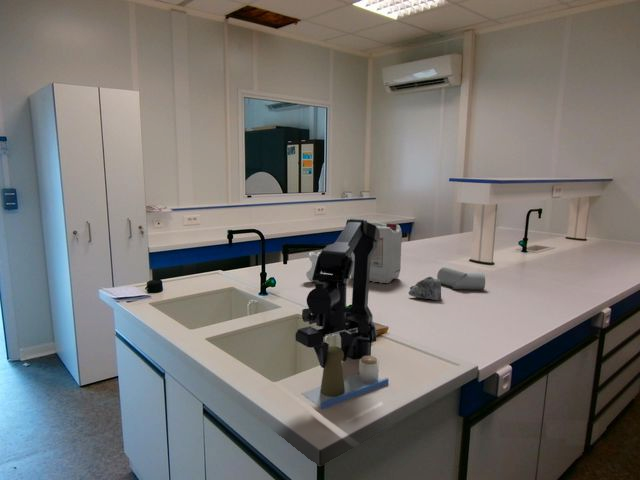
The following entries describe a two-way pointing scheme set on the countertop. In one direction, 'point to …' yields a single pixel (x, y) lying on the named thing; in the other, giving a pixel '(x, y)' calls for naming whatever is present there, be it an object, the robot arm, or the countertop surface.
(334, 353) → the olive waisted cylinder
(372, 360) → the ceramic jar
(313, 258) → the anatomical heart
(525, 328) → the countertop surface
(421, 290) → the mineral rock
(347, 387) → the shelf
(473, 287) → the bent grey cylinder
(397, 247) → the jerry can
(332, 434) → the countertop surface
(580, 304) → the countertop surface
